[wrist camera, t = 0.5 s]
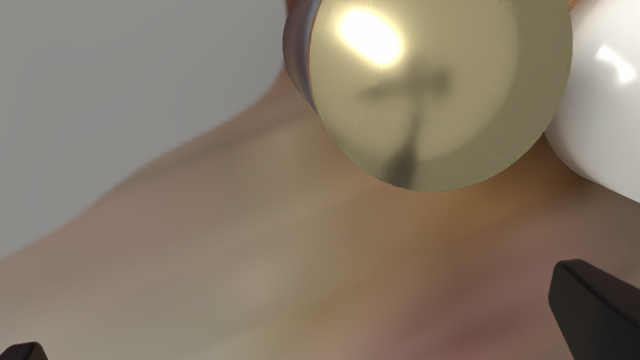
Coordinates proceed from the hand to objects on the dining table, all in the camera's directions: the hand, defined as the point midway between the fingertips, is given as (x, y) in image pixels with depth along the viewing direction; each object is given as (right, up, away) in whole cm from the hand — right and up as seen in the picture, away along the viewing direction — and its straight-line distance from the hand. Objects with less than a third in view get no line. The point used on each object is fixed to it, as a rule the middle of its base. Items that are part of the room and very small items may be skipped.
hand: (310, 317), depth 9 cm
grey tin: (+2, +8, +13) cm, 16 cm away
